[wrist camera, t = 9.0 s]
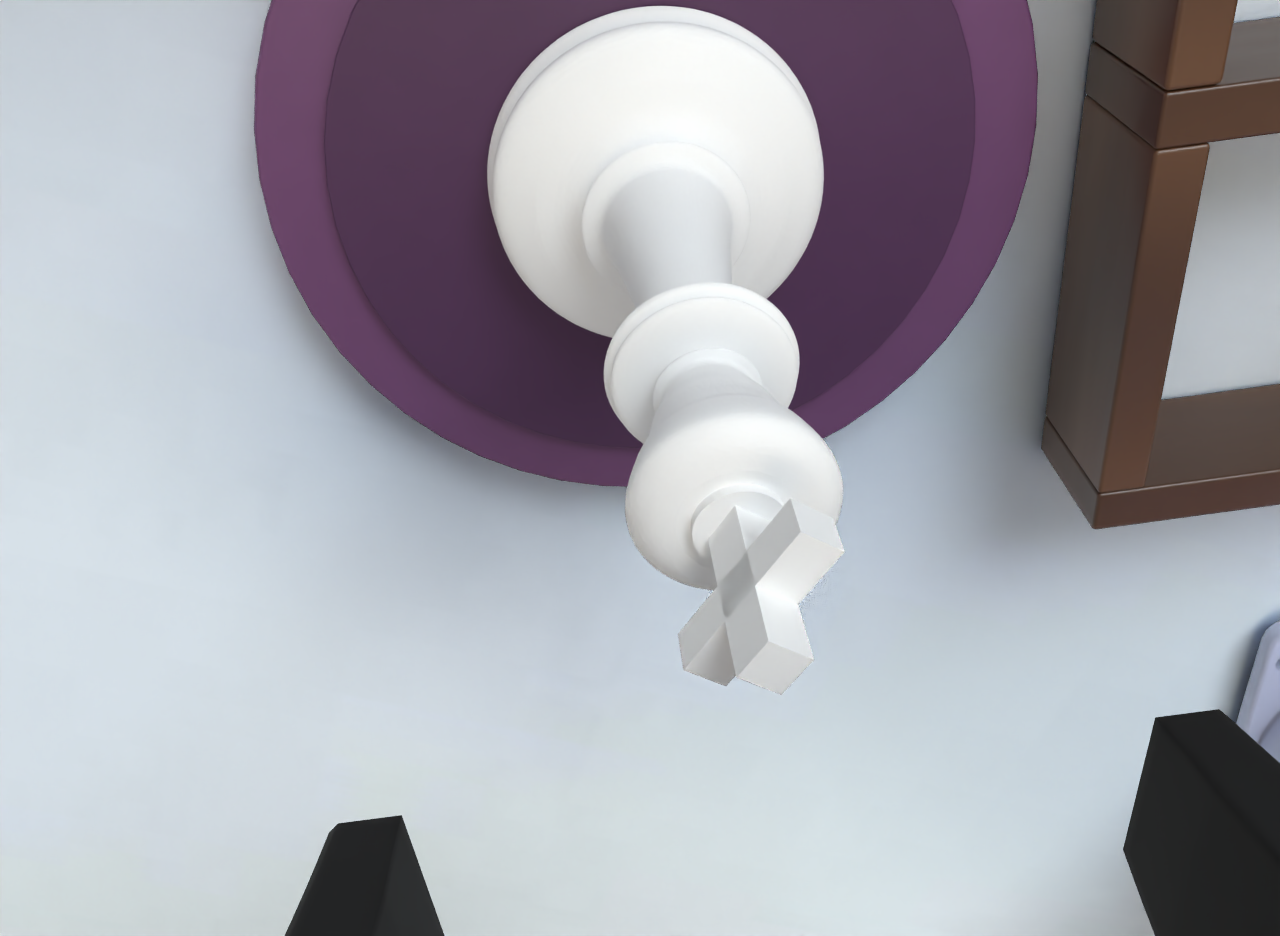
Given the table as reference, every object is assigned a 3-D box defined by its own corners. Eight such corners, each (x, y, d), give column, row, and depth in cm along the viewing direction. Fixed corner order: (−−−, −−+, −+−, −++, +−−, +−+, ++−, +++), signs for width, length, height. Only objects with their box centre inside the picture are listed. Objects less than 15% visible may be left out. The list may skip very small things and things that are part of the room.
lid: (990, 417, 21) (1009, 447, 20) (371, 501, 21) (365, 535, 20) (1059, -346, 14) (1092, -346, 14) (144, -225, 14) (122, -218, 13)
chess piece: (430, 238, 17) (345, 766, 9) (594, -69, 15) (680, 270, 7) (702, 373, 19) (834, 915, 11) (886, 118, 17) (1230, 564, 9)
